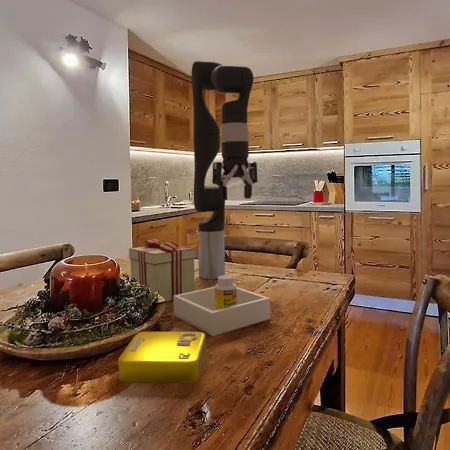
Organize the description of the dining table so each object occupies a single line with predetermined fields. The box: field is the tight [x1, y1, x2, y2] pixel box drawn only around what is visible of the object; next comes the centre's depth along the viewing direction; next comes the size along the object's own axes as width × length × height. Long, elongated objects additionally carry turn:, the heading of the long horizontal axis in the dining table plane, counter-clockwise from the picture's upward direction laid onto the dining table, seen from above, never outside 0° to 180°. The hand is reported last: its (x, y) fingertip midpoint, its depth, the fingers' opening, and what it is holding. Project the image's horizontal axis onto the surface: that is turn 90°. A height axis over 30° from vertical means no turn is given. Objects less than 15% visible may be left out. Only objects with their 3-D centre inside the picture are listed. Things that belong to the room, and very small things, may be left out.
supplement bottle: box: [214, 274, 237, 311], centre depth 105 cm, size 6×6×10 cm
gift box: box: [128, 238, 196, 303], centre depth 128 cm, size 17×18×17 cm
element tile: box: [117, 331, 207, 385], centre depth 81 cm, size 15×15×5 cm
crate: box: [172, 286, 271, 337], centre depth 106 cm, size 18×18×6 cm
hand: (235, 199), depth 115 cm, fingers open, 8 cm apart
